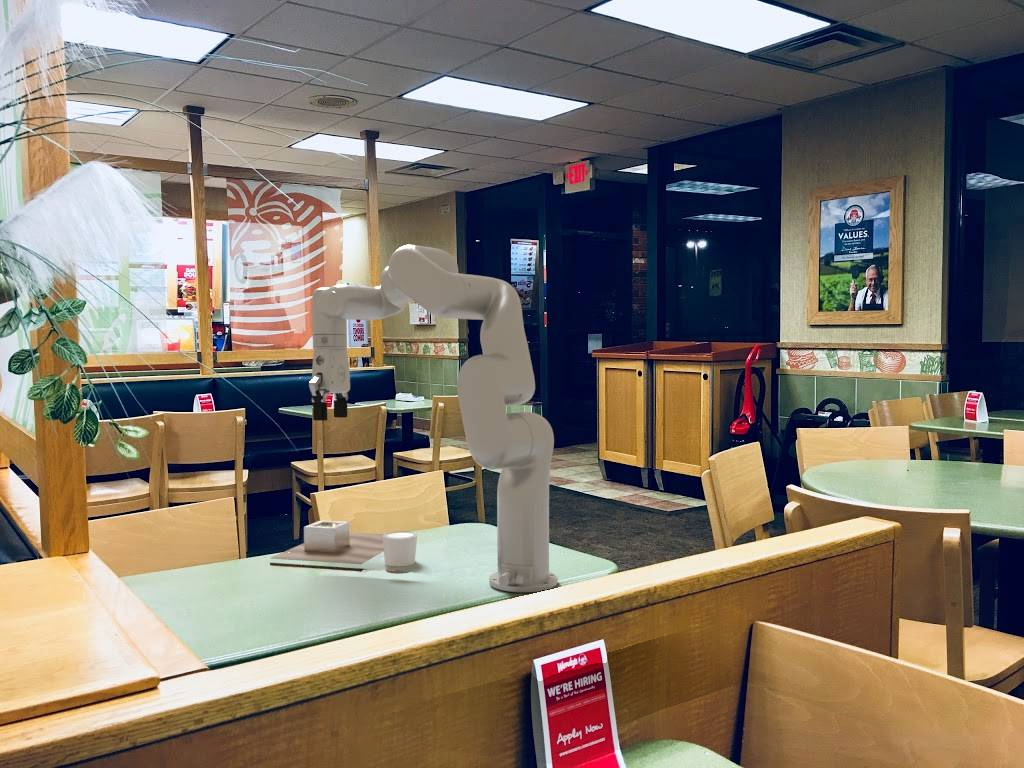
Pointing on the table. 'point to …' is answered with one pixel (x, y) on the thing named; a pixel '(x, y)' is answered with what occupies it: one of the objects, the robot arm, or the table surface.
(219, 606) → the table surface
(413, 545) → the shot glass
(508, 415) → the robot arm
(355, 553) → the brown flat slab
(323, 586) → the table surface
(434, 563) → the table surface
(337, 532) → the small white box
